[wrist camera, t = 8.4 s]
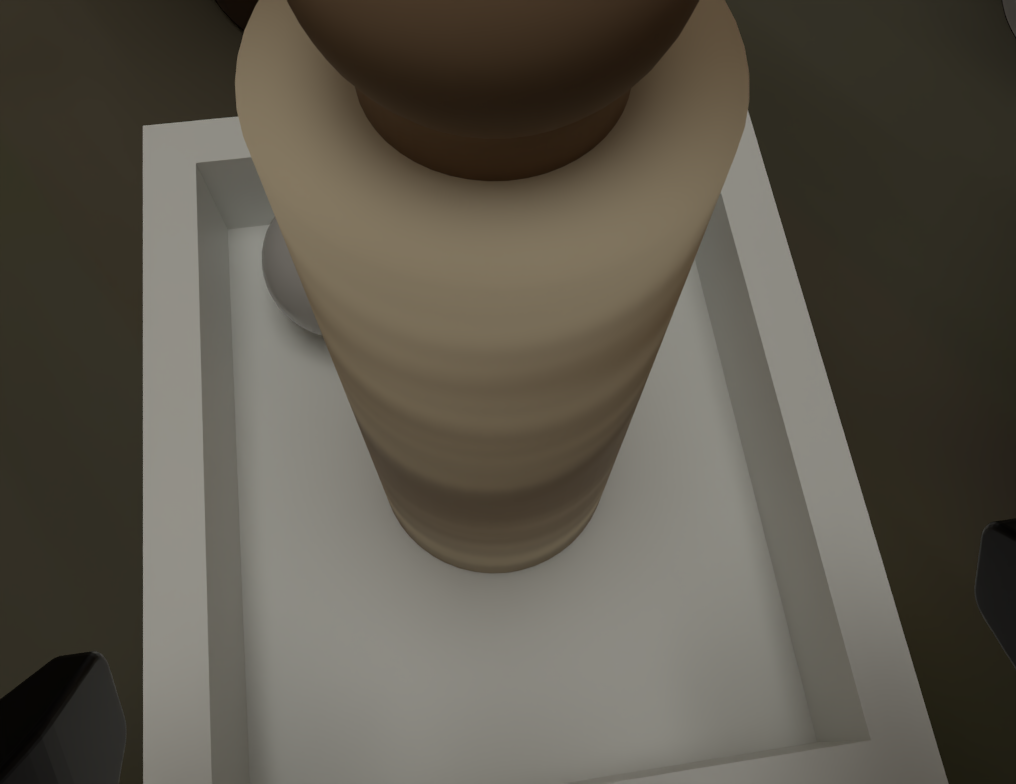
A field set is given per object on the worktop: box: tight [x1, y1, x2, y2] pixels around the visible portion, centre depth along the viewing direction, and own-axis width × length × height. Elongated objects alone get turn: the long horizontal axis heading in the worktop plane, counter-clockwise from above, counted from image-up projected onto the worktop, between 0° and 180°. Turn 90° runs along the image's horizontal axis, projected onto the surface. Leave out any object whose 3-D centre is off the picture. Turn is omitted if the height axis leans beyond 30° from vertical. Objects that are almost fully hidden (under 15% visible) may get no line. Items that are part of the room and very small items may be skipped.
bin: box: [143, 111, 948, 784], centre depth 17 cm, size 14×12×3 cm
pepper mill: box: [235, 0, 749, 573], centre depth 11 cm, size 4×4×14 cm
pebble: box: [262, 217, 322, 335], centre depth 18 cm, size 3×3×3 cm
